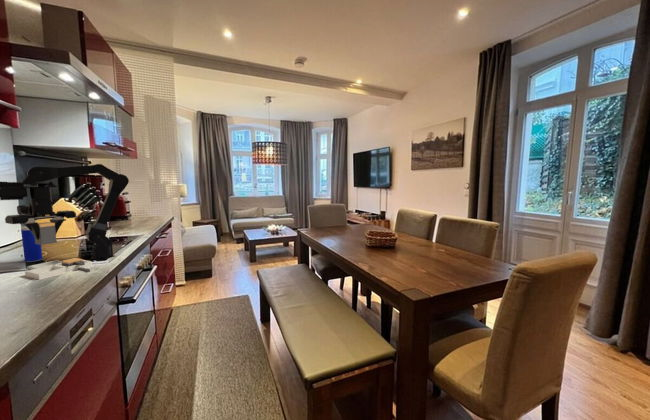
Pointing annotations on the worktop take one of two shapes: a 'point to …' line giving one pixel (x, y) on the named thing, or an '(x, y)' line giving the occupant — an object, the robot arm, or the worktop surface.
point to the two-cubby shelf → (54, 270)
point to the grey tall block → (46, 233)
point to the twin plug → (74, 263)
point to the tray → (44, 264)
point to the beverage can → (30, 246)
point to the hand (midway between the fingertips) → (45, 238)
